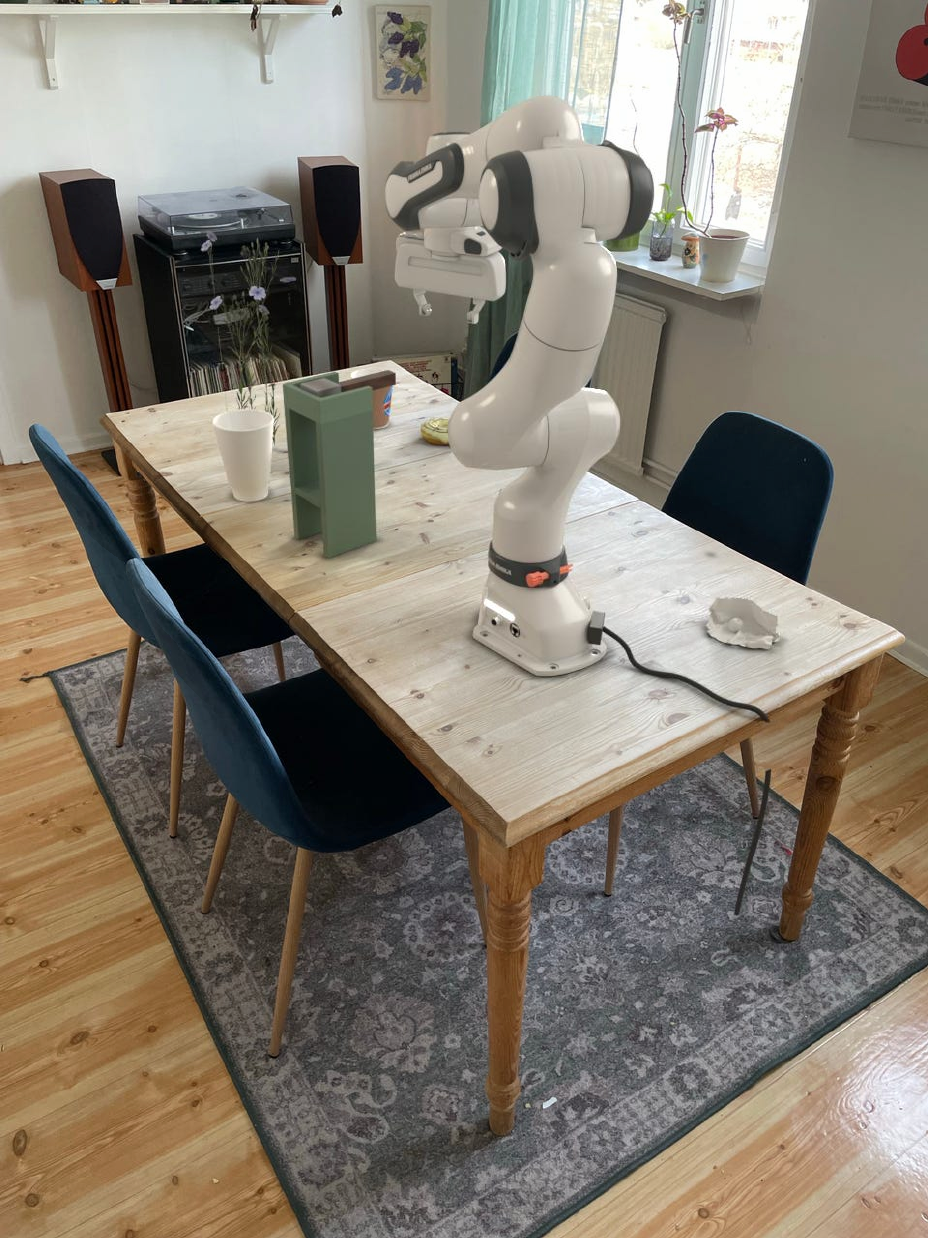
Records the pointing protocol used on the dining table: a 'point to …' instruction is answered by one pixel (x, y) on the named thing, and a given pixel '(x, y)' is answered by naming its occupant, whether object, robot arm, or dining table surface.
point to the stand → (331, 465)
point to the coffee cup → (377, 399)
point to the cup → (246, 451)
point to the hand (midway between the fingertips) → (448, 318)
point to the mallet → (349, 384)
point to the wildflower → (258, 294)
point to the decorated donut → (436, 430)
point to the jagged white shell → (742, 623)
